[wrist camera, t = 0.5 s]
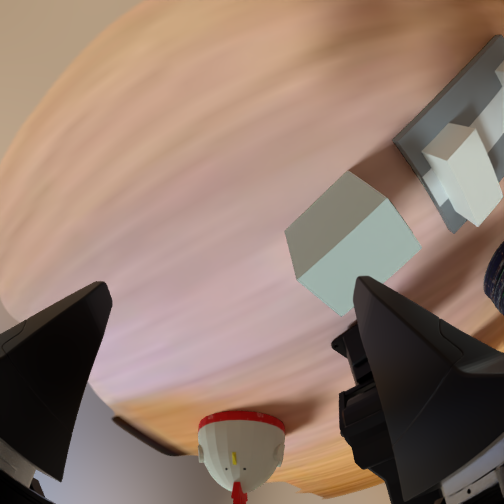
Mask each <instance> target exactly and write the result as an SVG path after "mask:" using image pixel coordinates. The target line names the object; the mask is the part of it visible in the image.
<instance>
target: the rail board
mask: <svg viewBox="0 0 504 504" xmlns="http://www.w3.org/2000/svg"><path fill="white" fill-rule="evenodd" d="M392 141H393V142H394V143H395V145H396V146H397V147H398V149H399V150H400V152H401V153H402V154H403V156H404V157H405V159H406V160H407V161H408V163H409V164H410V166H411V167H412V169H413V170H414V172H415V173H416V175H417V176H418V178H419V179H420V181H421V183H422V184H423V186H424V187H425V189H426V191H427V192H428V194H429V196H430V197H431V199H432V201H433V202H434V204H435V206H436V208H437V209H438V211H439V213H440V215H441V216H442V218H443V220H444V222H445V224H446V226H447V228H448V230H450V231H451V232H452V233H453V234H455V233H456V232H457V231H458V229H459V228H460V227H461V226H462V225H463V224H464V223H465V222H466V221H467V220H469V221H470V222H472V223H473V224H474V225H476V226H477V227H479V225H480V224H481V223H482V222H483V221H484V220H485V219H486V217H487V216H488V215H489V214H490V213H491V211H492V210H493V209H494V208H495V207H496V205H497V204H498V203H499V202H500V200H501V199H502V198H503V194H502V191H501V188H500V185H499V182H500V181H501V179H502V178H503V177H504V38H503V36H502V35H495V36H494V37H493V38H492V39H491V40H490V41H489V43H488V44H487V45H486V46H485V47H484V48H483V49H482V50H481V51H480V52H479V53H478V54H477V55H476V56H475V57H474V58H473V59H472V60H471V61H470V62H469V63H468V64H467V65H466V67H465V68H464V69H463V70H462V71H461V72H460V73H459V74H458V75H457V76H456V77H455V78H454V79H453V80H452V81H451V82H450V83H449V84H448V85H447V86H446V87H445V88H444V89H443V90H442V91H441V92H440V93H439V94H438V95H437V96H436V97H435V98H434V99H433V100H432V101H431V102H430V103H429V104H428V105H427V106H426V107H425V108H424V109H423V110H422V111H421V112H420V113H419V114H418V115H417V116H416V117H415V118H414V119H413V120H412V121H411V122H410V123H409V124H408V125H407V126H406V127H405V128H404V129H403V130H402V131H401V132H400V133H399V134H398V135H397V136H396V137H395V138H394V139H393V140H392Z"/></svg>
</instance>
